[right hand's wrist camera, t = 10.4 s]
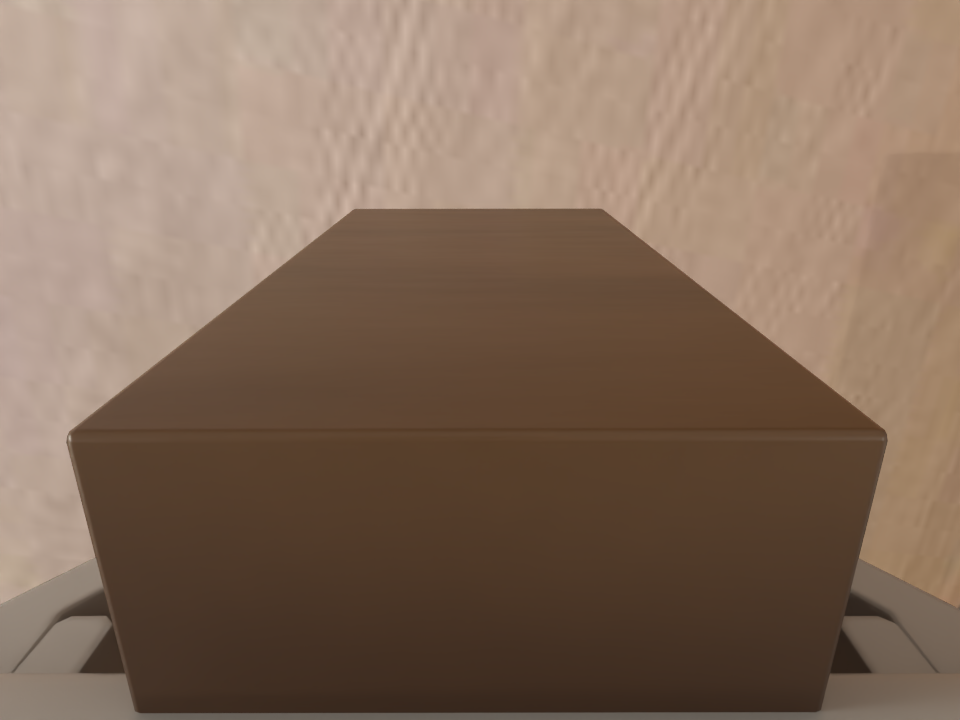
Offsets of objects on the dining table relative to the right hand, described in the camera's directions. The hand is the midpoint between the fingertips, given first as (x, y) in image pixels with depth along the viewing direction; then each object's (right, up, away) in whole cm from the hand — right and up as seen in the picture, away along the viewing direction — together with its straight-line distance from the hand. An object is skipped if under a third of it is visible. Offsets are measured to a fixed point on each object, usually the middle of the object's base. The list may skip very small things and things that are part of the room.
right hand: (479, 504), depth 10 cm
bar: (0, -7, +7) cm, 10 cm away
